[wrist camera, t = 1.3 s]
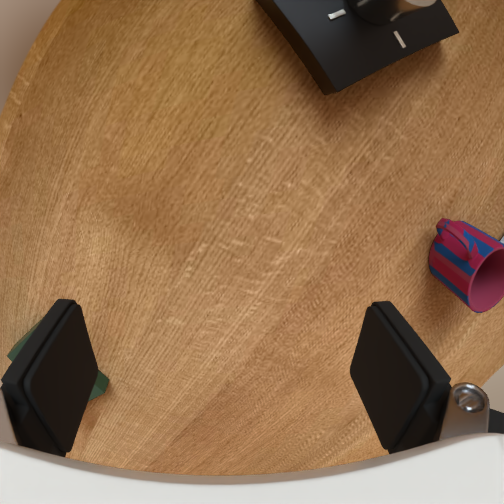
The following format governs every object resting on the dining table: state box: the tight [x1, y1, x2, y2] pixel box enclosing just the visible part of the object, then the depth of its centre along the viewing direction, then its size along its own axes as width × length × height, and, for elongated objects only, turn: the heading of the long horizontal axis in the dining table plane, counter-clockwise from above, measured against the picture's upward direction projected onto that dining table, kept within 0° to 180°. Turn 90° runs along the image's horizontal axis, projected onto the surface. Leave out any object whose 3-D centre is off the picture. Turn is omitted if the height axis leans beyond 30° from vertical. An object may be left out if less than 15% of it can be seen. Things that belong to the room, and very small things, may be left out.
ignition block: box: [7, 317, 109, 401], centre depth 28 cm, size 10×8×4 cm
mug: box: [429, 218, 504, 313], centre depth 25 cm, size 7×10×7 cm
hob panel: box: [256, 0, 459, 95], centre depth 18 cm, size 14×10×3 cm
